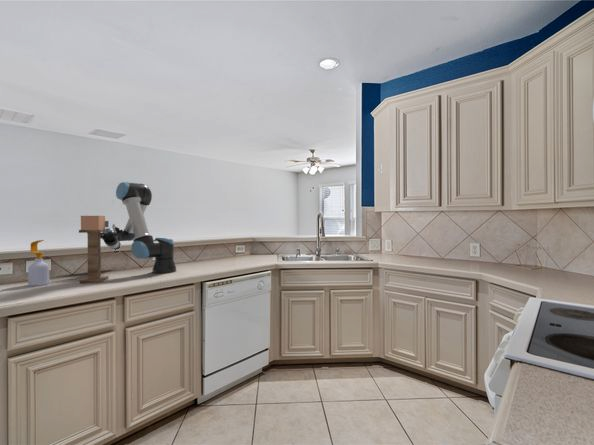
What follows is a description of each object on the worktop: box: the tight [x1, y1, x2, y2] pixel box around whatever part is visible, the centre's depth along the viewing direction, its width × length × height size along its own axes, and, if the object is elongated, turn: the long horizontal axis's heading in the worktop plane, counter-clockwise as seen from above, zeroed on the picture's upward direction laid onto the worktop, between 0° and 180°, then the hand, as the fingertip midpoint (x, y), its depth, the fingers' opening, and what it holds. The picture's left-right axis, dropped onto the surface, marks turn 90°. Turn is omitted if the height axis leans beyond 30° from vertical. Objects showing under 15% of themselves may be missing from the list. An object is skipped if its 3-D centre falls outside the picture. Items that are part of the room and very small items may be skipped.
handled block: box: [80, 215, 110, 230], centre depth 192 cm, size 24×9×8 cm, turn 13°
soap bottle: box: [27, 239, 50, 287], centre depth 176 cm, size 9×9×25 cm
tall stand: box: [78, 228, 109, 284], centre depth 186 cm, size 12×11×30 cm
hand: (101, 225), depth 199 cm, fingers open, 13 cm apart
